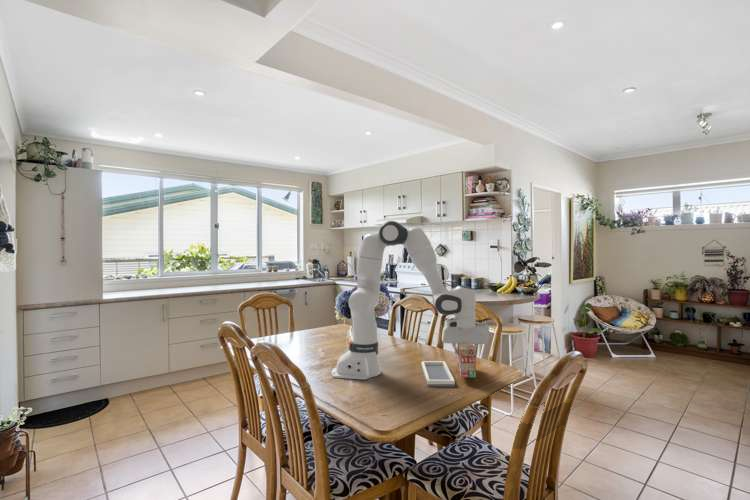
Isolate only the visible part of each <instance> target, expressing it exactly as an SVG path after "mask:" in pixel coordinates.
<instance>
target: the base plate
mask: <svg viewBox="0 0 750 500" xmlns="http://www.w3.org/2000/svg"><path fill="white" fill-rule="evenodd" d="M421 369H422V373H423V376H424V379H425V383H426V385H427V387H435V388H436V387H437V388H438V387H439V388H441V387H442V388H444V387H445V388H448V387H450V388H454V387H456V385H455V382H456V381H455V380H456V379H454V377H453V374H452V372H451V371H450V368H449V366H448V365H447V363H446V361H444V360H441V361H440V360H439V361H437V360H436V361H435V360H434V361H433V360H432V361H431V360H430V361H427V360H423V361H421Z"/></svg>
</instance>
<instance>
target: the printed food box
mask: <svg viewBox="0 0 750 500" xmlns="http://www.w3.org/2000/svg"><path fill="white" fill-rule="evenodd" d="M455 348H456V349H458V354H455V357H456V358H455V362H456V366H457V368H458V371H459V375H460V378H461V379H463V378H466V379H467V378H471V379H473V378H474V379H475V378H477V371H476V370H477V367H476V366H477V363H476V362H477V360H476V359H477V357H476V355H477V353H476V351H477V349H475V345H474V344H473V343H459V344H456V346H455Z"/></svg>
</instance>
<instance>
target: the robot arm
mask: <svg viewBox="0 0 750 500" xmlns="http://www.w3.org/2000/svg"><path fill="white" fill-rule="evenodd" d="M397 245H402V246H403V247H404V248H405V250H406V251H407V253H408V256H409V258H410V260H411V262H412V263H413V264H414V266H415V268H416V269H417V270H418V271H419V272H420V273H421V274H422V275H423V276H424V278H425V280H426V282H427V284H428V286H429V288H430V291H431V292H432V304H433V306H434V308H435V310H436V311H437V312H438V313H439V314H441V315H443V316H448V315H455V316H454V317H451V318H447V319H445V321H444V326H443V328H442V333H441V341H442V343H444V344H451V346H452V348H453V353H454V354H455V355H456V354H458V349H456V348H455V346H456V344H459V343H473V345H474V347H475V349H476V350H477V349H478V348H479V345H488V344H489V342H490V341H489V331H490V326H489V324H488V323H486V322H477V321H476V319H477V315H476V307H477V301H476V300H477V297H476V292H475V289H474V288H473V287H471V286H467V285H463V284H460V285H457V286H455V287H454V288H452V289H450V290H448V289H447V288H446V287H445V285H444V283H443V281H442V279H441V276H440V274H439V271H438V267H437V263H438V262H437V256H436V253H435V249H434V248H433V246H432V243H431V241H430V239H429V238H428V236H427V235H426V233H425V232H424V230H423V229H422V228H421V227H419V226H413V227H409V228H406V227H404V226H403V225H402V224H401V223H400V222H398V221H394V220H388V221H385V222H383V223H382V224H381V226H380V227H379V230H378V233H373V232H372V233H371V232H370V233H367V234H365V235H364V236H363V238H362V240H361V243H360V248H359V252H358V258H357V259H358V260H357V265H356V272H355V273H356V282H357V287H356V289H355V290H353V292H352V293H351V294H350V296H349V297H348V300H347V301H348V303H347V304H348V307H349V309H350V317H351V321H352V340H349V341H348V350H347V351H345V353H343V354H342V355H341V356H340V357H338V359H337V362H336V365H335V367H334V368H332V370H331V376H332V377H333V378H337V379H353V380H363V381H364V380H368V379H371V378H373V377H377V376H379V375H381V373H382V371H381V366H380V362H379V351H380V350H379V341H378V323H377V321H376V313H375V308H376V307H377V306H378V304H379V302H380V297H381V295H380V294H381V273H382V265H383V259H384V258H383V257H384V252H385V249H386V247H389V246H392V247H394V246H397Z"/></svg>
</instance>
